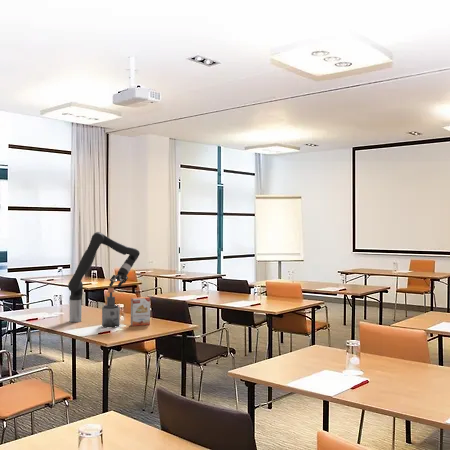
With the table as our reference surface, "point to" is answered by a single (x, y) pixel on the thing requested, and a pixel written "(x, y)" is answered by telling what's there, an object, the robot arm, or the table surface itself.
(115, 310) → the detonator box
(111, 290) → the plunger
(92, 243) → the robot arm
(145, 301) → the cracker box
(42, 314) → the table surface
